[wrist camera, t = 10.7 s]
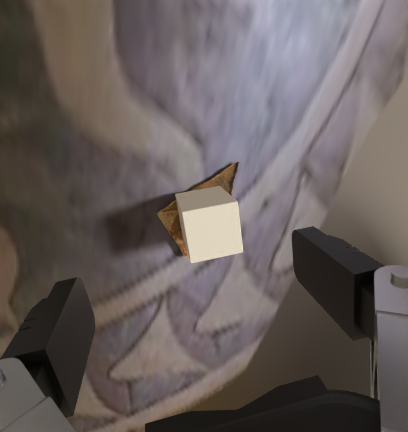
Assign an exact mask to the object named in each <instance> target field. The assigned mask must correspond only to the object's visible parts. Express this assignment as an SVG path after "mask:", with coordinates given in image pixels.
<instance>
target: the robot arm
mask: <svg viewBox="0 0 408 432" xmlns="http://www.w3.org/2000/svg"><path fill="white" fill-rule="evenodd" d="M292 249H293V266H294V272H295V275H296V277H297V279H298V281H299V282H300V283H301V284H302V285H303V287H304V288H305V289H306V290H307V291H308V292H309V293H310V294H311V295H312V296H313V298H314V299H315V300H316V301H317V302H318V303H319V304H320V305H321V306H322V307H323V308H324V310H325V311H326V312H327V313H328V314H329V315H330V316H331V317H332V318H333V319H334V321H335V322H336V323H337V324H338V325H339V326H340V327H341V328H342V329H343V330H344V331H345V333H346V334H347V335H348V336H349V337H350V338H351V339H352V340H353V341H354V340H358V339H362V338H365V337H369V338H370V339H371V397H369V396H365V395H362V394H358V393H355V392H350V391H345V390H335V389H334V390H333V389H327V388H326V387H325V385H324V384H323V382H322V381H321V379H320V378H319V376H318V375H317V376H313V377H310V378H306V379H303V380H299V381H295V382H292V383H288V384H285V385H281V386H278V387H276V388H274V389H273V390H271V391H269V392H268V393H266V394H264V395H263V396H261V397H259V398H257V399H256V400H254V401H252V402H251V403H249V404H247V405H245V406H244V407H242V408H240V409H237V410H219V411H218V410H216V411H189V412H185V413H182V414H178V415H175V416H171V417H168V418H164V419H160V420H157V421H153V422H150V423H146V424H145V432H408V267H407V266H400V265H390V266H384V265H382V264H381V263H379V262H378V261H376V260H374V259H373V258H371V257H370V256H368V255H366V254H365V253H363V252H360V250H358V249H357V248H355V247H352V245H351V244H349V243H347V242H346V241H344V240H342V239H339V238H336V237H333V236H329V235H328V236H327V235H326V234H324V233H323V232H321V231H320V230H318V229H317V228H315V227H313V226H312V227H307V228H303V229H298V230H294V231H293V233H292ZM94 332H95V318H94V313H93V310H92V307H91V304H90V301H89V298H88V295H87V292H86V289H85V287H84V284H83V281H82V279H81V278H80V277H77V278H72V279H68V280H63V281H59V282H56V283H55V285H54V287H53V289H52V291H51V292H50V294H49V296H48V298H45V299H42V300H41V301H40V302H39V303H38V304H37V305H35V306H34V307H33V308H32V309H31V310H30V312H29V313H28V315H27V317H26V318H25V320H24V322H23V323H22V325H21V326H20V328H19V332H17V333H16V334H15V336H14V338H13V339H12V341H11V343H10V344H9V346H8V347H7V349H6V351H5V352H4V354H3V356H2V357H1V359H0V432H75V431H74V429H73V428H72V427H71V425H70V424H69V422H68V421H67V419H66V417H69V416H73V414H74V410H75V406H76V403H77V399H78V395H79V391H80V387H81V383H82V379H83V375H84V371H85V367H86V363H87V359H88V355H89V351H90V347H91V344H92V340H93V336H94Z"/></svg>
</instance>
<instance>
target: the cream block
mask: <svg viewBox="0 0 408 432" xmlns="http://www.w3.org/2000/svg"><path fill="white" fill-rule="evenodd" d="M175 197H176V202H177V208H178V213H179V219H180V224H181V230H182V235H183V239H184V242H185V245H186V249H187V252H188V255H189V258H190V261H191V263H195V262H200V261H205V260H209V259H214V258H219V257H223V256H228V255H233V254H237V253H242V252H243V245H242V236H241V227H240V218H239V209H238V201H236V200H235V199H234V198H233V197H232V196H231V195H230V194H228V193H227V192H226V191H225V190H224V189H223V188H222V187H221V186H215V187H210V188H204V189H199V190H193V191H188V192H183V193H177V194H175Z"/></svg>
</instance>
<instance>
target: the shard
mask: <svg viewBox="0 0 408 432" xmlns="http://www.w3.org/2000/svg"><path fill="white" fill-rule="evenodd" d="M238 164H239V162H237V163H234V164H232V165H230V166H229V167H228V168H226V169H225V170H223V171H222V172H221V173H220V174H218V175H216V176H215V177H214V178H212V179H211V180H209V181H207V182H205V183H202V184H200V185H199V186H197V187H196V188H195V189H193V190H199V189H204V188H210V187H215V186H221V187H222V188H223V189H224V190H225V191H226V192H227V193H228V194H230V195H231V196H232V190H233V183H234V178H235V175H236V173H237V169H238ZM193 190H191V191H193ZM157 215H158V216H159V218H160V220H161V221H162V223H163V224H164V226H165V228H166V229H167V230H168V232H169V233H170V235H171V236H172V237H173V238H174V240H175V241H176V243H177V244H178V246H179V247H180V249H181V251H182V253H183V255H184V256H186V257H187V258H189V255H188V252H187V249H186V245H185V242H184V239H183V235H182V230H181V224H180V219H179V213H178V208H177V202H176V200H174V201H173V202H172V203H170V204H169V206H167V207H165V208H164V209H162V210H161V211H159V212H158V213H157Z"/></svg>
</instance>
